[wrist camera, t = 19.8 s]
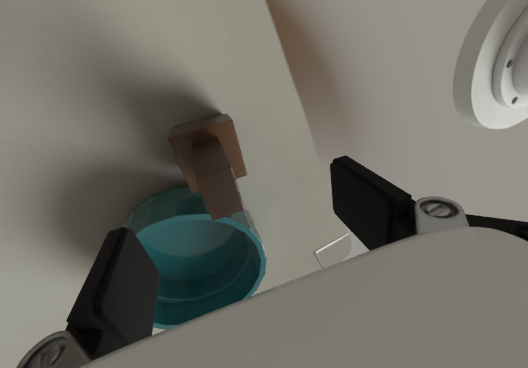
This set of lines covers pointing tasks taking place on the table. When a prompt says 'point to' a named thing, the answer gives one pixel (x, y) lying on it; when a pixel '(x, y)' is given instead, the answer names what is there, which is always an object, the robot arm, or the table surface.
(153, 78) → the table surface
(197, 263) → the bowl
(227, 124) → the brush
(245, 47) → the table surface
